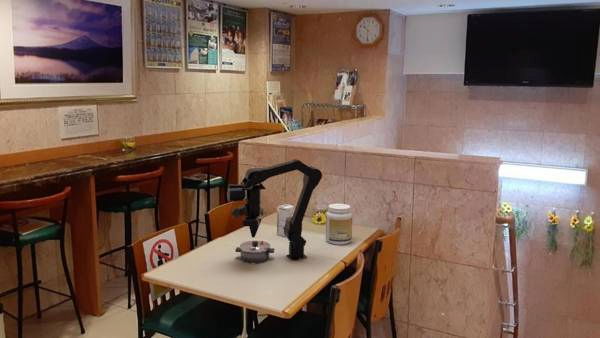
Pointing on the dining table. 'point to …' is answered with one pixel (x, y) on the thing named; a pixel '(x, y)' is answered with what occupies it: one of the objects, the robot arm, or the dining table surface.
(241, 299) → the dining table surface
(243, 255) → the cooker pot
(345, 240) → the supplement tub
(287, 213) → the syrup box
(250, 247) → the cooker lid
